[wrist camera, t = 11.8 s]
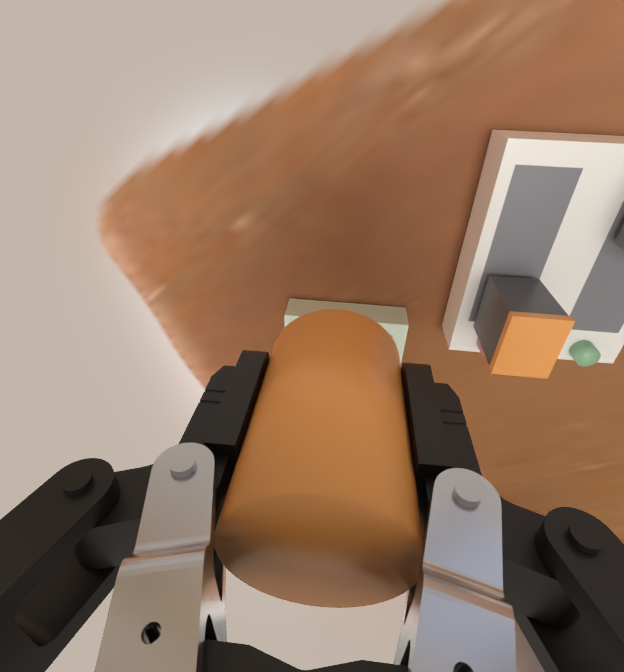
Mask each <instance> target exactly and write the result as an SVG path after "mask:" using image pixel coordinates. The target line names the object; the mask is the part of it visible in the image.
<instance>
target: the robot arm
mask: <svg viewBox="0 0 624 672" xmlns="http://www.w3.org/2000/svg"><path fill="white" fill-rule="evenodd" d="M268 362H269V353H268V352H261V351H248V350H243V351H242V353H241V355H240V358H239V360H238V362H237V365H236V367H235V366H223V367H222V368H221V369H220V370H219V371H217V372H216V373H215V374H214V375H213V376H212V377H211V379H210V381H209V383H208V385H207V387H206V389H205V392H204V393H203V395H202V397H201V399H200V403H199V404H198V406H197V408H196V410H195V412H194V414H193V416H192V418H191V420H190V422H189V424H188V426H187V428H186V431H185V432H184V434H183V436H182V439H181V441H180V442H179V444H178V445H175V446H173V447H171V448H169V449H167V450H166V451H164V452H163V453H162V454H161V455H160V456H159V457H158V458H157V459H156V461H155V463H154V464H152V465H149V466H145V467H141V468H135V469H130V470H124V471H118V472H114V471H113V469H112V466H111V465H110V464H109V463H108V462H106V461H104V460H102V459H96V458H89V459H83V460H79V461H76V462H74V463H71V464H69V465H67V466H66V467H64V468H62V469H61V470H60V471H58V472H57V473H56V474H54V475H53V476H52V477H51V478H50V479H48V480H47V481H46V482H45V483H44V484H43V485H41V486H40V487H39V488H38V489H37V490H35V491H34V492H33V493H32V494H31V495H29V496H28V497H27V498H26V499H25V500H24V501H22V502H21V503H20V504H19V505H17V506H16V507H15V508H14V509H13V510H11V511H10V512H9V513H8V514H7V515H5V517H3V518H2V519H1V520H0V672H45V671H46V670H47V668H48V667H49V666H50V665H51V664H52V662H53V661H54V660H55V659H56V657H57V656H58V655H59V654H60V652H61V651H62V650H63V649H64V648H65V646H66V645H67V644H68V643H69V642H70V640H71V639H72V638H73V637H74V635H75V634H76V633H77V632H78V631H79V629H80V628H81V627H82V626H83V624H84V623H85V622H86V621H87V620H88V618H89V617H90V616H91V615H92V613H93V612H94V611H95V610H96V609H97V607H98V606H99V605H100V604H101V602H102V601H103V600H104V599H105V598H106V596H107V595H108V594H109V593H110V591H111V590H112V589H113V588H114V591H113V595H112V599H111V604H110V608H109V612H108V617H107V621H106V625H105V629H104V634H103V637H102V642H101V646H100V650H99V655H98V659H97V663H96V667H95V671H94V672H624V544H623V543H622V542H621V541H620V540H619V539H618V538H617V536H616V535H615V534H614V533H613V532H612V531H611V530H610V529H609V528H608V527H607V526H606V525H605V524H604V523H602V522H601V521H600V520H598V519H597V518H595V517H594V516H592V515H590V514H588V513H586V512H584V511H582V510H578V509H575V508H570V507H560V508H556V509H553V510H552V511H550V512H549V513H548V514H547V515H546V517H545V516H543V515H540V514H537V513H535V512H532V511H530V510H527V509H524V508H522V507H519V506H516V505H514V504H512V503H510V502H508V501H506V500H504V499H503V498H502V497H500V496H499V494H498V492H497V490H496V489H495V488H494V486H493V485H492V484H491V483H490V482H489V481H488V480H487V479H486V478H484V477H483V476H482V474H481V472H480V468H479V465H478V461H477V458H476V455H475V451H474V448H473V444H472V441H471V437H470V434H469V431H468V427H466V420H465V417H464V414H463V410H462V407H461V403H460V400H459V397H458V396H457V395H456V393H455V392H454V391H453V390H452V389H451V387H450V386H449V385H448V384H442V383H434V380H433V376H432V371H431V367H430V365H426V364H413V363H403V364H402V368H401V373H402V381H403V389H404V397H405V404H406V412H407V420H408V428H409V436H410V443H411V451H412V459H413V467H414V474H415V481H416V488H417V496H418V504H419V511H420V519H421V527H422V535H423V548H422V555H421V561H420V568H419V575H418V581H417V583H416V584H415V585H414V586H413V587H411V588H410V589H409V590H408V591H407V596H406V602H405V608H404V614H403V621H402V626H401V632H400V637H399V641H398V645H397V650H396V654H395V659H394V664H388V663H379V662H373V661H365V660H360V661H354V662H349V663H344V664H339V665H334V666H328V667H323V668H318V669H313V670H300V669H297V668H295V667H293V666H291V665H289V664H287V663H284V662H283V661H281V660H279V659H277V658H275V657H272V656H270V655H268V654H266V653H264V652H262V651H260V650H258V649H256V648H254V647H252V646H250V645H245V644H237V643H229V642H227V634H226V619H225V580H226V567H225V566H224V565H223V563H222V562H221V561H220V559H219V557H218V555H217V553H216V551H215V548H214V532H215V529H216V526H217V522H218V519H219V516H220V513H221V510H222V507H223V504H224V500H225V497H226V494H227V491H228V488H229V485H230V481H231V478H232V475H233V472H234V469H235V466H236V463H237V460H238V457H239V454H240V450H241V447H242V444H243V441H244V438H245V435H246V431H247V428H248V425H249V422H250V419H251V416H252V412H253V409H254V406H255V403H256V400H257V397H258V394H259V390H260V387H261V384H262V381H263V378H264V375H265V371H266V368H267V365H268Z"/></svg>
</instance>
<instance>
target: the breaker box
mask: <svg viewBox="0 0 624 672" xmlns="http://www.w3.org/2000/svg"><path fill="white" fill-rule="evenodd" d="M623 224H624V136H615V135H595V134H575V133H554V132H534V131H513V130H492V133H491V137H490V141H489V145H488V149H487V153H486V157H485V160H484V164H483V168H482V172H481V176H480V180H479V184H478V188H477V191H476V195H475V199H474V203H473V207H472V211H471V215H470V218H469V222H468V226H467V230H466V234H465V238H464V242H463V245H462V249H461V253H460V257H459V261H458V265H457V269H456V272H455V276H454V280H453V284H452V288H451V292H450V296H449V299H448V303H447V307H446V311H445V315H444V319H443V323H442V328H443V332H444V335H445V339H446V342H447V345H448V349H449V350H461V351H472V352H481V354H482V356H484V357H485V358H486V356H485V353H484V351H483V349H482V346H481V344H480V341H479V339H478V336H477V334H476V332H475V329H474V327H473V326H474V323H475V319H476V316H477V313H478V310H479V307H480V303H481V300H482V297H483V294H484V291H485V287H486V284H487V281H488V278H489V276H501V277H515V278H529V279H540V281H541V282H542V283H543V284H544V286H545V287H546V288H547V289H548V291H549V292H550V293H551V294H552V296H553V297H554V298H555V299H556V301H557V302H558V303H559V304H560V306H561V307H562V308H563V309H564V311H565V312H566V313H567V314H568V316H572V318H573V319H574V320H575V323H574V325H573V327H572V329H571V331H570V333H569V335H568V337H567V340H566V342H565V344H564V346H563V348H562V350H561V352H560V354H559V356H558V358H557V359H566V360H575V362H576V363H577V364H578V365H579V366H583V367H586V366H591V365H593V364H595V363H596V362H600V363H612V364H613V362H614V360H615V359H616V357H617V355H618V354H619V352H620V350H621V348H622V347H623V345H624V250H623V249H622V248H621V247H619V246H618V245H617V244H615V240H616V238H617V236H618V234H619V232H620V230H621V228H622V226H623Z"/></svg>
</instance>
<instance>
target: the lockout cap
mask: <svg viewBox="0 0 624 672" xmlns="http://www.w3.org/2000/svg"><path fill="white" fill-rule="evenodd" d="M214 548H215V551H216V553H217V555H218V557H219V559H220V561H221V562H222V563H223V565H224V566H225V567H226V568H227V569H228V570H229V571H230V572H231V573H232V574H233V575H235V576H236V577H237V578H239V579H240V580H241V581H243V582H244V583H246V584H248V585H249V586H251V587H253V588H255V589H257V590H259V591H261V592H264V593H266V594H269V595H271V596H274V597H277V598H280V599H283V600H287V601H290V602H295V603H300V604H305V605H311V606H319V607H337V608H342V607H358V606H366V605H372V604H376V603H380V602H384V601H387V600H389V599H392V598H395V597H397V596H399V595H401V594H403V593H404V592H406V591H408V590H409V589H410V588H411V587H413V586H414V585H415V584H416V583H417V581H418V575H419V568H420V561H421V555H422V548H423V535H422V527H421V519H420V511H419V504H418V496H417V488H416V481H415V474H414V467H413V459H412V451H411V443H410V436H409V428H408V420H407V412H406V404H405V397H404V389H403V381H402V373H401V365H400V357H399V352H398V349H397V346H396V344H395V342H394V340H393V339H392V337H391V336H390V334H389V333H388V332H387V331H386V330H385V329H384V328H383V327H382V326H381V325H380V324H378V323H377V322H375V321H374V320H372V319H370V318H368V317H366V316H364V315H362V314H359V313H356V312H352V311H348V310H341V309H325V310H318V311H314V312H310V313H307V314H304V315H302V316H300V317H298V318H296V319H295V320H293V321H292V322H290V323H289V324H288V325H287V326H286V327H285V328H284V329H283V330H282V331H281V332H280V334H279V335H278V337H277V339H276V341H275V343H274V346H273V349H272V352H271V355H270V359H269V362H268V365H267V368H266V371H265V375H264V378H263V381H262V384H261V387H260V390H259V394H258V397H257V400H256V403H255V406H254V409H253V412H252V416H251V419H250V422H249V425H248V428H247V431H246V435H245V438H244V441H243V444H242V447H241V450H240V454H239V457H238V460H237V463H236V466H235V469H234V472H233V475H232V478H231V481H230V485H229V488H228V491H227V494H226V497H225V500H224V504H223V507H222V510H221V513H220V516H219V519H218V522H217V526H216V529H215V532H214Z"/></svg>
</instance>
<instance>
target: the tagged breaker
mask: <svg viewBox="0 0 624 672" xmlns="http://www.w3.org/2000/svg"><path fill="white" fill-rule="evenodd" d="M574 323H575V320H574V319H573V318H572V316H568V314H567V313H566V312H565V311H564V309H563V308H562V307H561V306H560V304H559V303H558V302H557V301H556V299H555V298H554V297H553V296H552V294H551V293H550V292H549V291H548V289H547V288H546V287H545V286H544V284H543V283H542V282H541V281H540V279H529V278H515V277H501V276H489V278H488V281H487V284H486V287H485V291H484V294H483V297H482V300H481V303H480V307H479V310H478V313H477V316H476V319H475V323H474V326H473V327H474V329H475V332H476V334H477V336H478V339H479V341H480V344H481V346H482V349H483V351H484V353H485V356H486V358H487V361H488V363H489V370H490V372H491V374H501V375H512V376H523V377H534V378H546V379H548V377H549V375H550V373H551V371H552V368H553V366H554V364H555V362H556V360H557V358H558V356H559V354H560V352H561V350H562V348H563V346H564V344H565V342H566V340H567V337H568V335H569V333H570V331H571V329H572V327H573V325H574Z"/></svg>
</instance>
